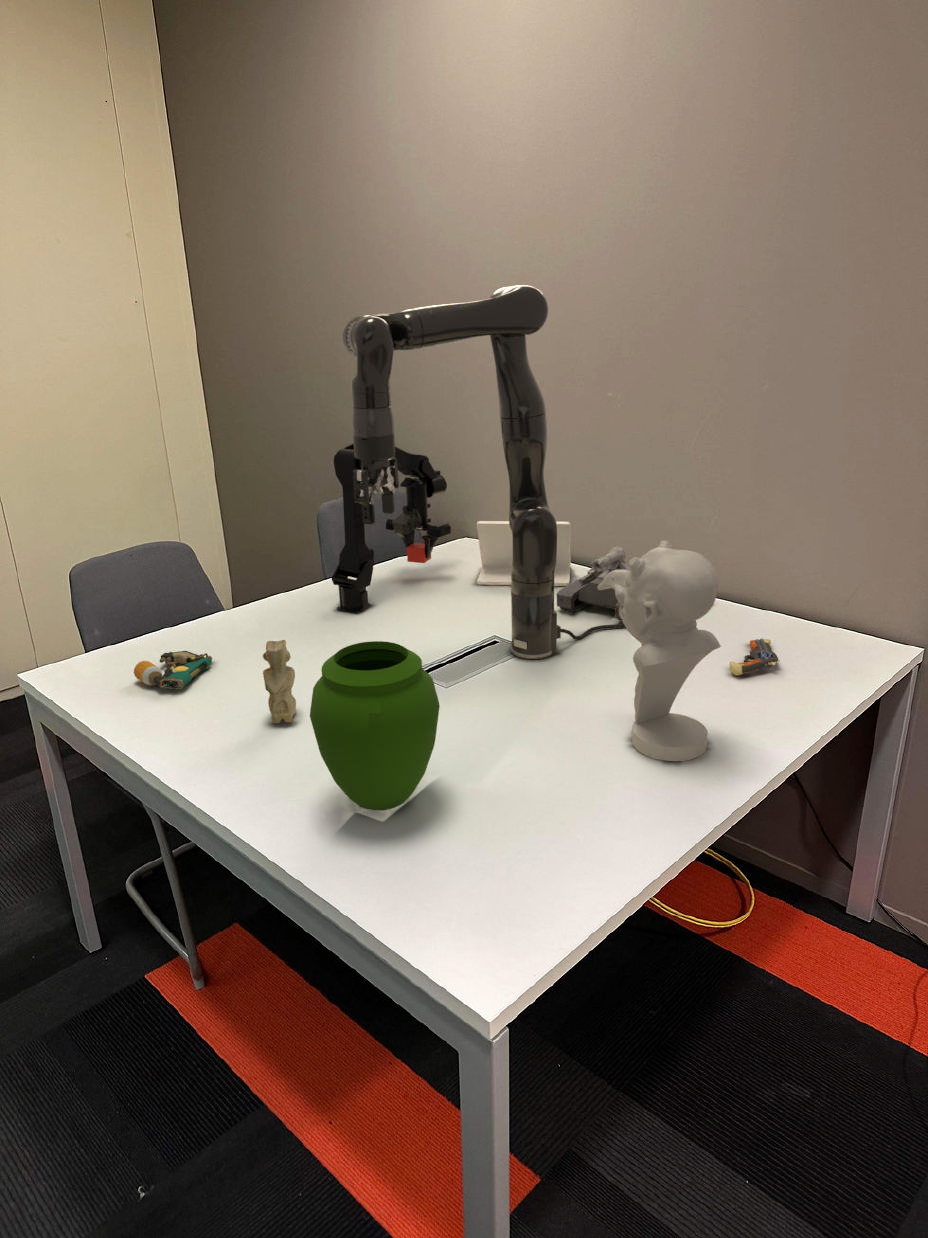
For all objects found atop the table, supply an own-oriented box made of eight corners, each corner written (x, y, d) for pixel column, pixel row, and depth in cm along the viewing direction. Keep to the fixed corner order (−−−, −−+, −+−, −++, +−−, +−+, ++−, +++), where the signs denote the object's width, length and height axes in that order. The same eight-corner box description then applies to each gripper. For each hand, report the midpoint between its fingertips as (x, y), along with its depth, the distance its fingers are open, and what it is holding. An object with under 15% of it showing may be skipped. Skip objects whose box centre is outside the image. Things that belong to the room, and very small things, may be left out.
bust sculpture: (641, 695, 165) (650, 519, 153) (732, 748, 145) (751, 550, 133) (573, 715, 158) (577, 532, 146) (659, 773, 138) (671, 567, 126)
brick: (414, 557, 240) (414, 542, 239) (431, 558, 238) (430, 544, 237) (407, 561, 236) (406, 547, 234) (424, 563, 234) (423, 548, 232)
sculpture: (301, 708, 164) (294, 636, 159) (296, 726, 158) (288, 651, 152) (271, 709, 164) (262, 637, 159) (265, 727, 158) (255, 652, 152)
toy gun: (731, 666, 171) (784, 663, 169) (722, 637, 189) (769, 634, 187) (732, 679, 172) (784, 676, 170) (722, 649, 190) (770, 646, 188)
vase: (466, 785, 137) (462, 645, 128) (393, 849, 122) (383, 694, 113) (371, 755, 147) (361, 623, 138) (292, 810, 132) (275, 665, 123)
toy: (603, 584, 229) (605, 530, 224) (673, 597, 218) (677, 540, 213) (555, 612, 210) (556, 553, 205) (630, 627, 199) (633, 566, 194)
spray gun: (177, 659, 191) (231, 671, 185) (120, 684, 176) (176, 698, 171) (176, 641, 190) (230, 653, 184) (118, 665, 175) (174, 678, 169)
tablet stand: (569, 585, 229) (570, 524, 223) (476, 584, 232) (475, 523, 226) (570, 566, 246) (571, 508, 240) (484, 564, 249) (483, 507, 243)
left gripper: (371, 503, 230) (374, 558, 236) (426, 511, 220) (428, 568, 225) (397, 495, 239) (399, 549, 244) (451, 502, 228) (452, 558, 234)
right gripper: (372, 425, 164) (377, 508, 169) (336, 437, 151) (343, 526, 157) (407, 426, 161) (412, 510, 167) (374, 438, 149) (380, 528, 154)
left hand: (419, 556), depth 237 cm, fingers closed on brick, 5 cm apart
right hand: (379, 518), depth 162 cm, fingers open, 8 cm apart
